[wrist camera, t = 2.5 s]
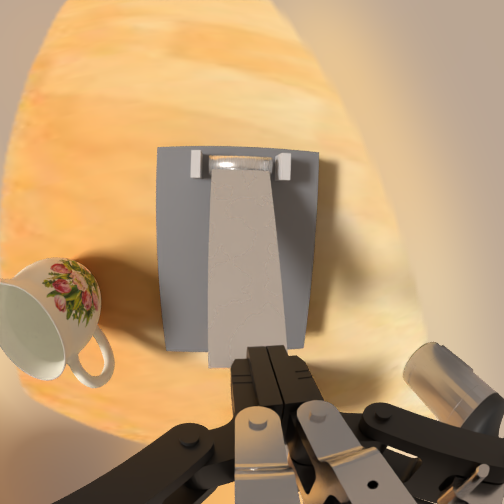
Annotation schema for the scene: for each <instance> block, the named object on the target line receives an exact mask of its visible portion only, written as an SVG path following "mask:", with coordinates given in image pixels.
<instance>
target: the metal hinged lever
mask: <svg viewBox="0 0 504 504" xmlns="http://www.w3.org/2000/svg"><path fill="white" fill-rule="evenodd" d="M272 167H273V163H272V158H271V157H255V156H224V155H209V175H212V177H211V197H210V220H209V254H208V363H209V369H231V365H232V363H233V362H234V360H235V359H246V353H247V347H254V346H265V347H266V346H273V345H284V346H285V349H286V351H287V340H286V328H285V316H284V304H283V293H282V283H281V272H280V262H279V252H278V243H277V233H276V224H275V215H274V206H273V198H272V189H271V181H270V176H271V174H272ZM287 354H288V353H287Z"/></svg>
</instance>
